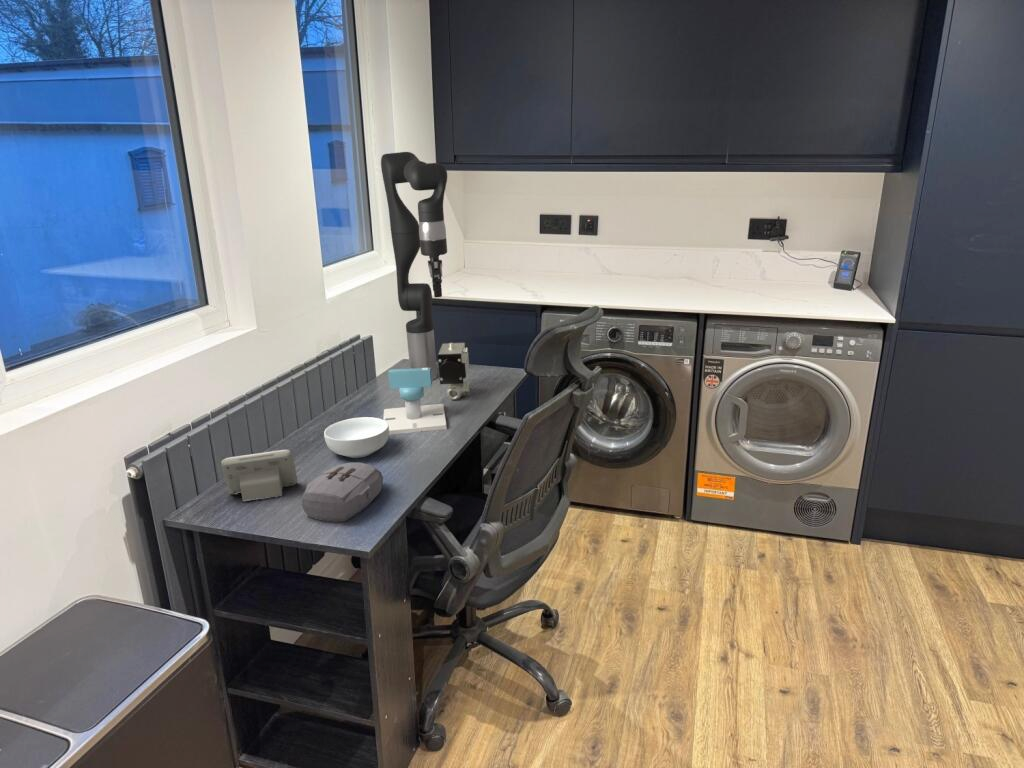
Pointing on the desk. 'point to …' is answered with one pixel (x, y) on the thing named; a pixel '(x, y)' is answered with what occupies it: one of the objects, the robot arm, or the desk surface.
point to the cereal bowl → (357, 436)
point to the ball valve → (454, 368)
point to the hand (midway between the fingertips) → (437, 294)
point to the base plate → (421, 422)
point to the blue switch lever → (410, 382)
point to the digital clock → (260, 474)
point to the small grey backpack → (342, 491)
